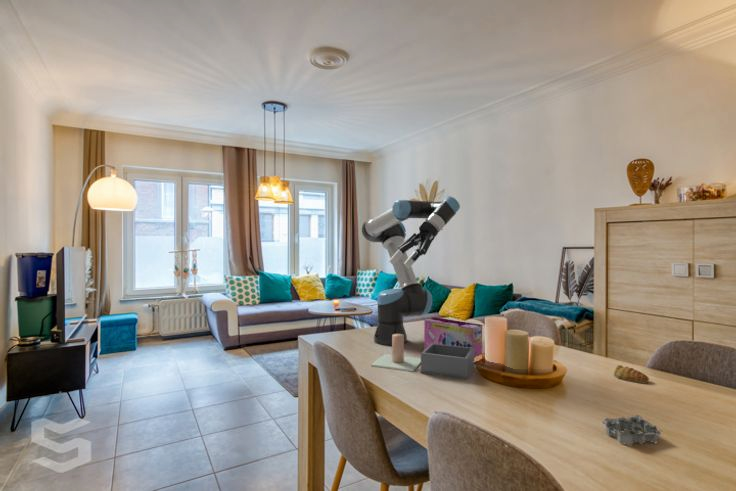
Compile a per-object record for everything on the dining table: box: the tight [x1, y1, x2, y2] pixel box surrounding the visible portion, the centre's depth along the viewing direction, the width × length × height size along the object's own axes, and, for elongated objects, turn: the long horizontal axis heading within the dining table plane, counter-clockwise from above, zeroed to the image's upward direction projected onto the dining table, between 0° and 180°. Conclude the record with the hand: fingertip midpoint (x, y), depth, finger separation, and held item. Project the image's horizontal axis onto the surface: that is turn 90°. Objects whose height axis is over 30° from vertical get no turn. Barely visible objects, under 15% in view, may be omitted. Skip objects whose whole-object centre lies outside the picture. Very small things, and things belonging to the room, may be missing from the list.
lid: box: [371, 334, 421, 373], centre depth 147 cm, size 14×16×11 cm
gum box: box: [423, 316, 483, 358], centre depth 157 cm, size 24×8×14 cm, turn 47°
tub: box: [420, 343, 475, 380], centre depth 140 cm, size 14×16×7 cm
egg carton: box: [601, 414, 663, 446], centre depth 92 cm, size 11×8×4 cm
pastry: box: [613, 364, 650, 384], centre depth 130 cm, size 9×7×4 cm
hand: (398, 264), depth 156 cm, fingers open, 13 cm apart
